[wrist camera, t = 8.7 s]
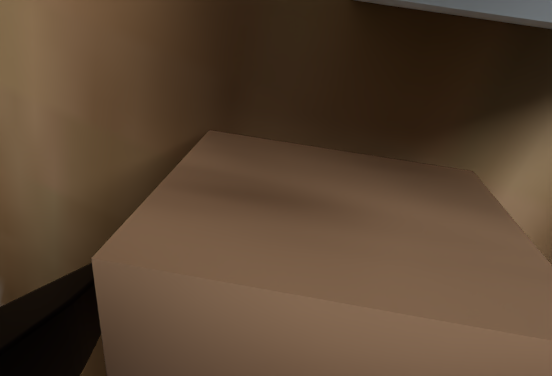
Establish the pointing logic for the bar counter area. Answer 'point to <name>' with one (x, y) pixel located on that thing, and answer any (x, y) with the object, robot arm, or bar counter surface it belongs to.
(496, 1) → the bored block
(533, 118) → the bar counter surface
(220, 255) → the walnut block
